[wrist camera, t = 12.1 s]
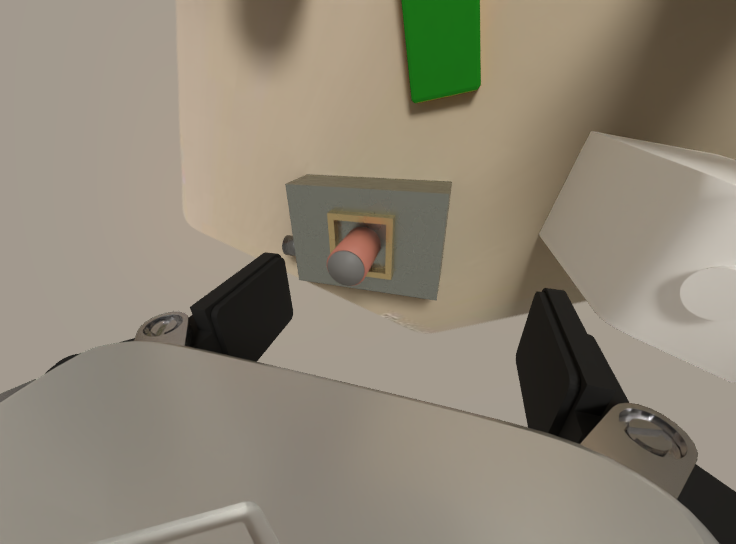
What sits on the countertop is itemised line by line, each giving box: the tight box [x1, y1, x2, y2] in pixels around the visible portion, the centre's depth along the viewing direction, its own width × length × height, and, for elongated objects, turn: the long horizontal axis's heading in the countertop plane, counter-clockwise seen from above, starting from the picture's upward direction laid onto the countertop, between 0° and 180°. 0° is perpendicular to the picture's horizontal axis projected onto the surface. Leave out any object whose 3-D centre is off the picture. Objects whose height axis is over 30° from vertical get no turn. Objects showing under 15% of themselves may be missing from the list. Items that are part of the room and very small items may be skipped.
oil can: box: [327, 227, 381, 286], centre depth 35 cm, size 5×5×7 cm
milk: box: [539, 131, 736, 383], centre depth 22 cm, size 12×12×26 cm
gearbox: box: [282, 175, 452, 300], centre depth 40 cm, size 23×14×7 cm, turn 91°
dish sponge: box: [401, 0, 481, 103], centre depth 29 cm, size 7×14×2 cm, turn 11°
